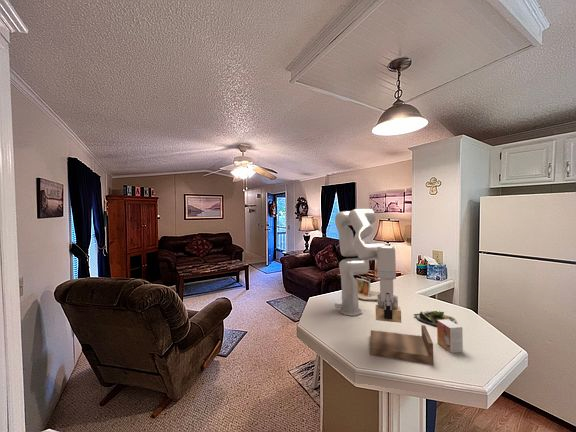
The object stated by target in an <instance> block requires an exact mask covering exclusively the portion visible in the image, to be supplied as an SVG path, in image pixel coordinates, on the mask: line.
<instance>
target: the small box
mask: <svg viewBox="0 0 576 432" xmlns="http://www.w3.org/2000/svg"><path fill="white" fill-rule="evenodd" d="M436 330H437V331H436V333H437V334H436V335H437V336H436V337H437V340H436V341H437V344H439V346H441V347H442V348H444V350H446V351H447V352H449V353H450V354H455V353H457V354H458V353H463V352H464V349H463V347H464V346H463V345H464V344H463V343H464V342H463V341H464V340H463V336H464V335H463V327H462V325H459V324H457V323H456V322H455V323H454V322H452V321H450V320H449V319H446V320H445V319H444V320H437V327H436Z"/></svg>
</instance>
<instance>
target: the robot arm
mask: <svg viewBox="0 0 576 432" xmlns="http://www.w3.org/2000/svg"><path fill="white" fill-rule="evenodd" d="M334 218H335V219H334V223H335V228H336V230H337V232H338V239H339V250H340V254H341V256H343V257H354V258H345V259H342V260H341V261H339V263H338V267H339V273H340V283H341V284H340V285H341V302H340V303H334V307H335V308H336V309H339V313H340V314H341V315H343V316H349V317H358V316H360V315H362V309H361V308H359V307H360V305H359V299H358V282H357V280H356V278H355V277H354V276H356V275H366V274H368V273H369V271H370V261H376V266H377V267H376V270H377V271H376V272H377V273H376V274H377V278H378V279H379V293H380V297H381V302H384V306H385V309H384V318H385V319H392V307H391V303H393V295H394V280H396V279H397V267H396V266H397V265H396V262H397V260H396V248H395V247H394V246H392V245H388V244H386V243H382V242H381V243H379V242H378V243H377V242H376V243H366V241H364V239H366V238H368V237H369V236H370V235H371V234H372V233H373V231H374V228H373V226H372V224H374V223H375V222H376V220H377V215H376V213H375V210H374V209H372V208H354V209H352V210H343V211H339V212H337V213H336V214H335V217H334ZM350 226H352V228H353V230H354V232H355V235H354V232H353V230H352V229H351V228H350ZM356 257H357V258H356Z"/></svg>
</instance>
